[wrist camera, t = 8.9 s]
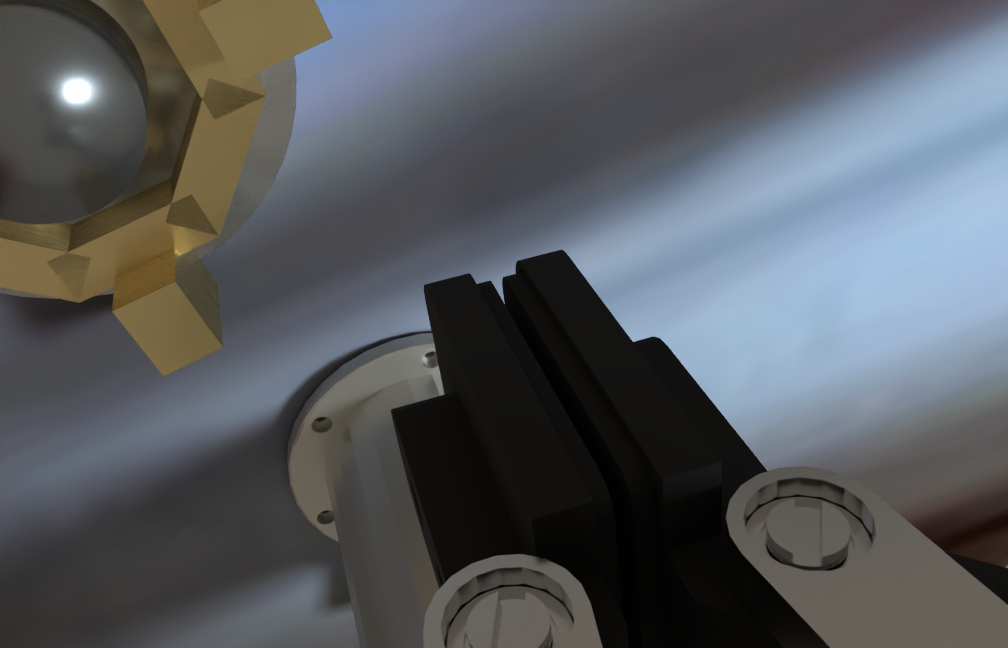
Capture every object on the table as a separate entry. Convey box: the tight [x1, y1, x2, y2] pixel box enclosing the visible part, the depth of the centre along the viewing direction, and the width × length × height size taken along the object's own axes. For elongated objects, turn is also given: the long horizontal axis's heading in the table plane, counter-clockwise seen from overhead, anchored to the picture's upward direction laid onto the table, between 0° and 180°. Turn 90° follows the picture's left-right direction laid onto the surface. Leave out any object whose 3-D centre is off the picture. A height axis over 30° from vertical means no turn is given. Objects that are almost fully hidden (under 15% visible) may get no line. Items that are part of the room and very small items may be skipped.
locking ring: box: [0, 0, 332, 376], centre depth 28 cm, size 14×14×4 cm
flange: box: [0, 0, 296, 299], centre depth 29 cm, size 16×16×4 cm
